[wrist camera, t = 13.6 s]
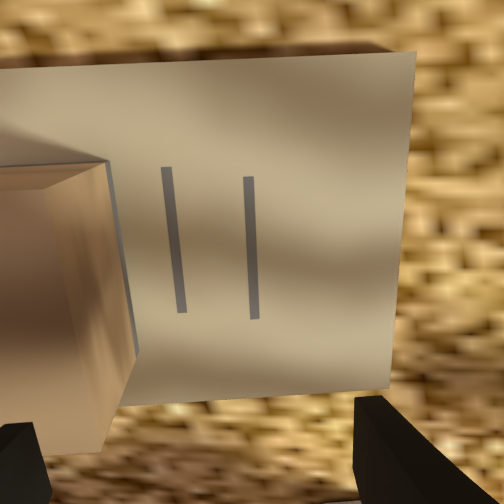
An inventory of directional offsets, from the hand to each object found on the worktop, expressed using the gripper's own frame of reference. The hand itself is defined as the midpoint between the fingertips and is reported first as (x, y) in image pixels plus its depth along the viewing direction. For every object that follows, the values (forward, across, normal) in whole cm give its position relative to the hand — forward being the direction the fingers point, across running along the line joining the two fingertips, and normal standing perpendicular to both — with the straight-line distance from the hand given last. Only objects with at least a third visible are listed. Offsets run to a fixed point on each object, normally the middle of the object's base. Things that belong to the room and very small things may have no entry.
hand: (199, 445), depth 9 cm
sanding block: (+8, +5, -2) cm, 10 cm away
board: (+9, +1, -2) cm, 10 cm away
